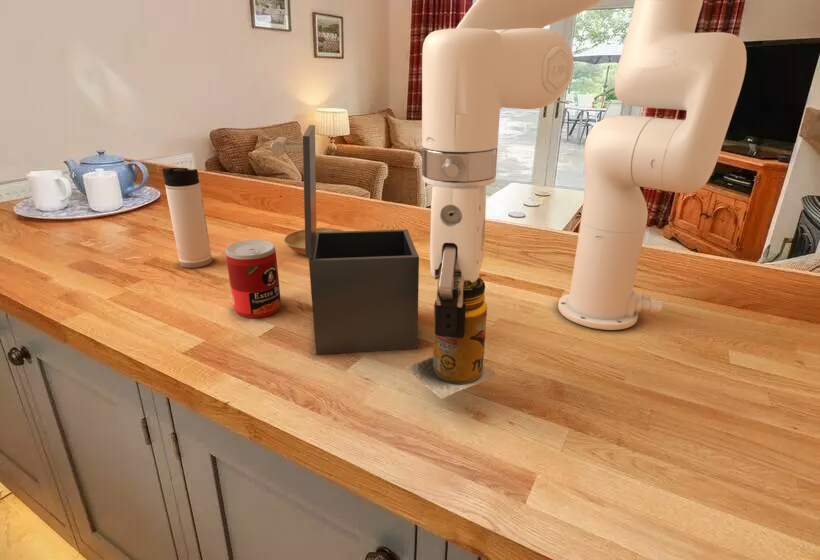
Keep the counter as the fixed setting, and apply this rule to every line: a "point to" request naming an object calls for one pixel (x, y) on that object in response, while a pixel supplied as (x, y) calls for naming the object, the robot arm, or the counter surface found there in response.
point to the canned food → (253, 278)
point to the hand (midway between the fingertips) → (454, 319)
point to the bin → (364, 291)
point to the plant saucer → (302, 239)
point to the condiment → (458, 349)
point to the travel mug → (187, 216)
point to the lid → (309, 170)
